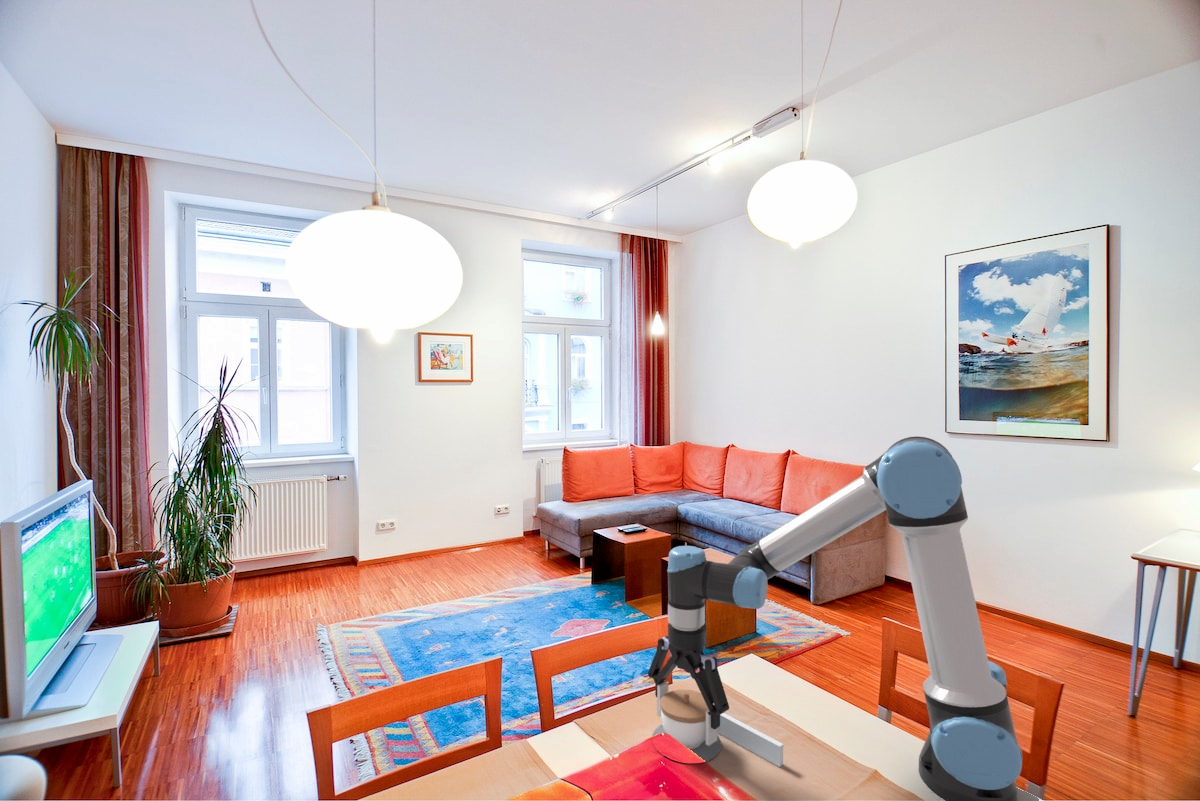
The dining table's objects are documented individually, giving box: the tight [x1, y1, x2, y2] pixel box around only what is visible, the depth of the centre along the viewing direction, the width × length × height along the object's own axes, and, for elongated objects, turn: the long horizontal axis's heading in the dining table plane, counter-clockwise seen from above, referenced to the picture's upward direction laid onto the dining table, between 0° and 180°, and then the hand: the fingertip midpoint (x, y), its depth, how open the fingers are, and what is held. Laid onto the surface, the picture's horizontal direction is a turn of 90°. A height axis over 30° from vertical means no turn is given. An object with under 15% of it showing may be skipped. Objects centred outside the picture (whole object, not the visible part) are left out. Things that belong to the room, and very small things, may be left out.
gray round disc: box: [651, 724, 722, 763], centre depth 117 cm, size 14×14×1 cm
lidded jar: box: [660, 689, 709, 749], centre depth 117 cm, size 11×11×9 cm
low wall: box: [717, 712, 784, 768], centre depth 117 cm, size 22×1×4 cm, turn 41°
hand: (686, 727), depth 117 cm, fingers open, 12 cm apart
